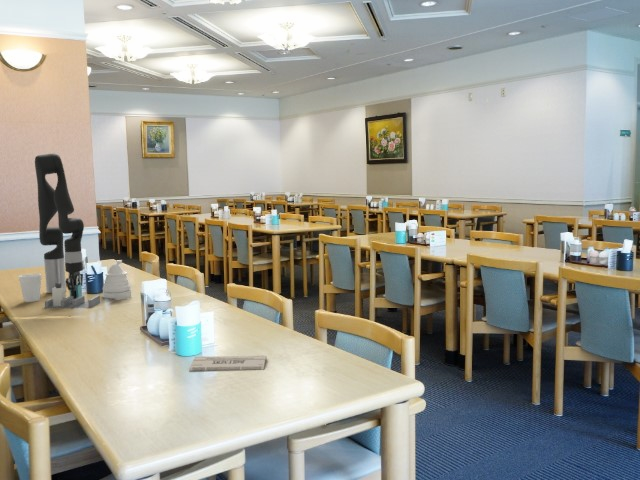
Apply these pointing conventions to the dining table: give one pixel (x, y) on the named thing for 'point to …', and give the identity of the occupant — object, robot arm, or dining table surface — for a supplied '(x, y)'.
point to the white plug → (58, 294)
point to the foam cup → (30, 286)
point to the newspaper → (228, 363)
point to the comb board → (74, 302)
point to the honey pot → (116, 283)
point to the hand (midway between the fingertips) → (76, 297)
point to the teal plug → (78, 290)
